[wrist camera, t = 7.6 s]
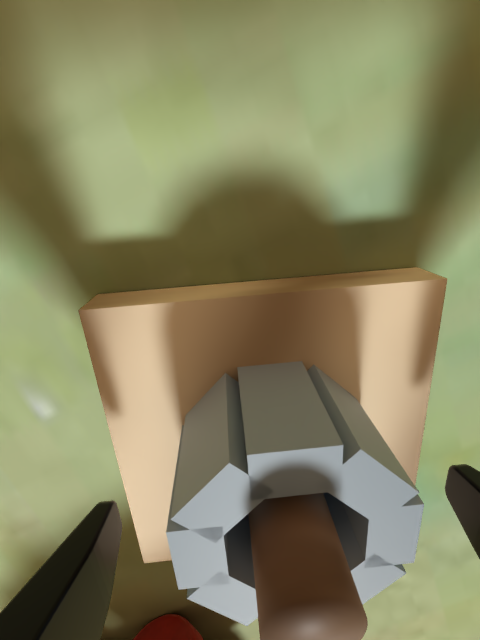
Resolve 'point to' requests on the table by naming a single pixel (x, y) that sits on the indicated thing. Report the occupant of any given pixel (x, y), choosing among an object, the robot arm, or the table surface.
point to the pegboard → (224, 357)
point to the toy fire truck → (169, 629)
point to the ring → (284, 482)
